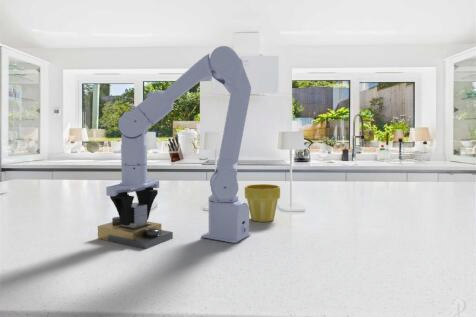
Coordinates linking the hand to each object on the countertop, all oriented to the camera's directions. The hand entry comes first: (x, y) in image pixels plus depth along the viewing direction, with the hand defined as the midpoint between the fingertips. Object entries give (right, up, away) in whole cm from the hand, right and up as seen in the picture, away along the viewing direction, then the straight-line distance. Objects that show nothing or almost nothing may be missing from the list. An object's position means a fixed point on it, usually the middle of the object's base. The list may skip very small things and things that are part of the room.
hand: (135, 222), depth 80 cm
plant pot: (+31, -3, +19) cm, 37 cm away
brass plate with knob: (0, -4, 0) cm, 4 cm away
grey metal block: (0, -4, 0) cm, 4 cm away
